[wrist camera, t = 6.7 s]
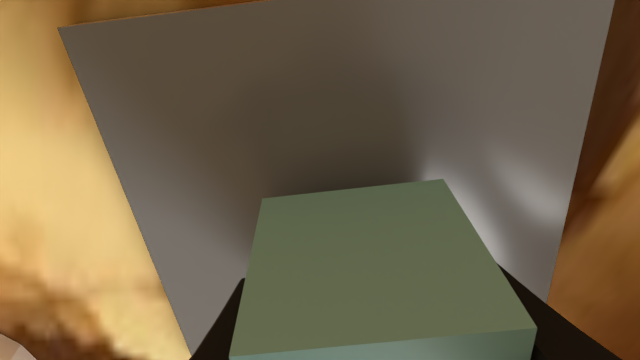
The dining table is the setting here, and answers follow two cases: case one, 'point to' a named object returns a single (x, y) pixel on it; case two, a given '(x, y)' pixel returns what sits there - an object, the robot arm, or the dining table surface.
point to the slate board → (339, 120)
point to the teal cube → (376, 281)
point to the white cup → (13, 350)
